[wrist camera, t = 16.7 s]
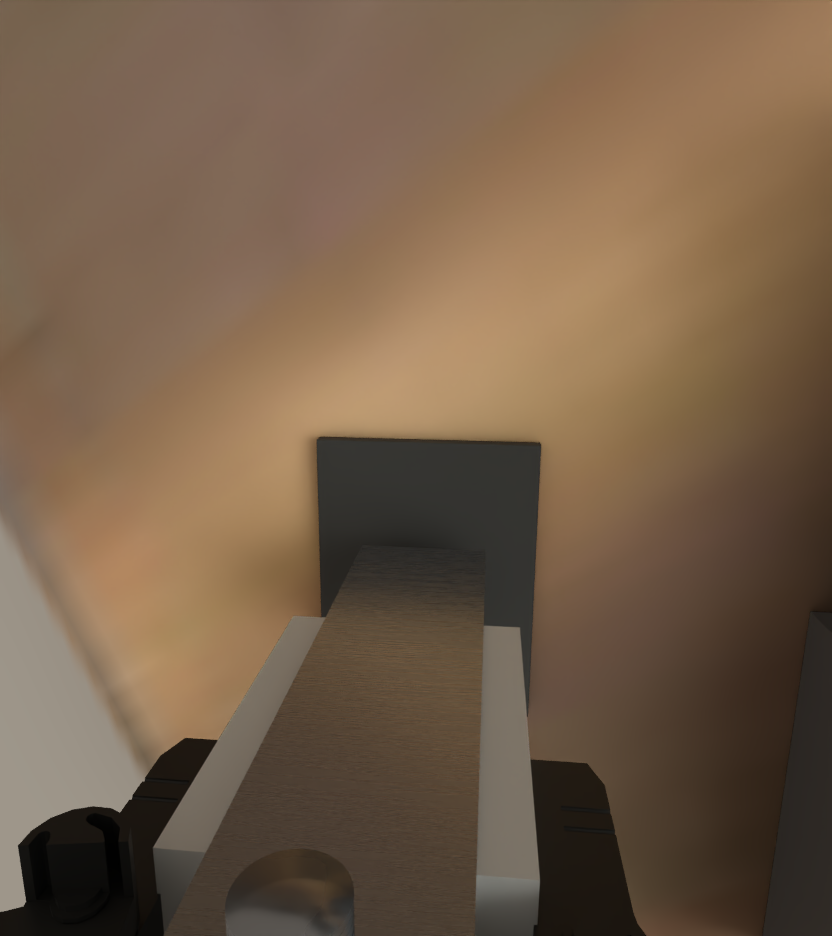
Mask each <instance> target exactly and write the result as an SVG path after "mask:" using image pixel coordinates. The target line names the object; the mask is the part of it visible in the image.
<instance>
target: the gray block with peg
mask: <svg viewBox="0 0 832 936" xmlns="http://www.w3.org/2000/svg"><path fill="white" fill-rule="evenodd" d="M485 559H486V550H462V549H438V548H414V547H390V546H366V545H362V547H361V549H360V551H359V553H358V555H357V557H356V559H355V561H354V563H353V565H352V567H351V569H350V571H349V573H348V574H347V576H346V578H345V580H344V582H343V584H342V586H341V588H340V590H339V592H338V594H337V596H336V598H335V600H334V602H333V604H332V606H331V608H330V610H329V612H328V614H327V616H326V618H325V620H324V622H323V624H322V626H321V627H320V629H319V631H318V633H317V635H316V637H315V639H314V641H313V643H312V645H311V647H310V649H309V651H308V653H307V655H306V657H305V659H304V661H303V663H302V665H301V667H300V669H299V671H298V673H297V675H296V677H295V679H294V680H293V682H292V684H291V686H290V688H289V690H288V692H287V694H286V696H285V698H284V700H283V702H282V704H281V706H280V708H279V710H278V712H277V714H276V716H275V718H274V720H273V722H272V724H271V726H270V728H269V730H268V732H267V733H266V735H265V737H264V739H263V741H262V743H261V745H260V747H259V749H258V751H257V753H256V755H255V757H254V759H253V761H252V763H251V765H250V767H249V769H248V771H247V773H246V775H245V777H244V779H243V781H242V783H241V785H240V786H239V788H238V790H237V792H236V794H235V796H234V798H233V800H232V802H231V804H230V806H229V808H228V810H227V812H226V814H225V816H224V818H223V820H222V822H221V824H220V826H219V828H218V830H217V832H216V834H215V836H214V838H213V839H212V841H211V843H210V845H209V847H208V849H207V851H206V853H205V855H204V857H203V859H202V861H201V863H200V865H199V867H198V869H197V871H196V873H195V875H194V877H193V879H192V881H191V883H190V885H189V887H188V889H187V891H186V892H185V894H184V896H183V898H182V900H181V902H180V904H179V906H178V908H177V910H176V912H175V914H174V916H173V918H172V920H171V922H170V924H169V926H168V928H167V930H166V932H165V934H164V936H475V907H476V872H477V837H478V802H479V768H480V733H481V698H482V664H483V629H484V594H485Z"/></svg>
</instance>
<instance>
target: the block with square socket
mask: <svg viewBox="0 0 832 936" xmlns="http://www.w3.org/2000/svg"><path fill="white" fill-rule="evenodd" d="M763 936H832V613H829V612H810V617H809V624H808V631H807V638H806V645H805V651H804V658H803V665H802V672H801V678H800V685H799V692H798V699H797V705H796V712H795V719H794V726H793V733H792V739H791V746H790V753H789V760H788V766H787V773H786V780H785V787H784V794H783V800H782V807H781V814H780V821H779V827H778V834H777V841H776V848H775V854H774V861H773V868H772V875H771V882H770V888H769V895H768V902H767V909H766V915H765V922H764V929H763Z"/></svg>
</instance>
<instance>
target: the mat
mask: <svg viewBox="0 0 832 936" xmlns="http://www.w3.org/2000/svg"><path fill="white" fill-rule="evenodd" d="M540 457H541V444H540V443H533V442H496V441H458V440H421V439H383V438H346V437H319V438H318V439H317V470H318V507H319V544H320V581H321V617H325V618H326V616H327V614H328V612H329V610H330V608H331V606H332V604H333V602H334V600H335V598H336V596H337V594H338V592H339V590H340V588H341V586H342V584H343V582H344V580H345V578H346V576H347V574H348V573H349V571H350V569H351V567H352V565H353V563H354V561H355V559H356V557H357V555H358V553H359V551H360V549H361V547H362V545H366V546H390V547H414V548H438V549H462V550H486V559H485V594H484V626H501V627H520V636H521V648H522V661H523V673H524V686H525V698H526V711H527V717H528V704H529V683H530V663H531V642H532V622H533V601H534V581H535V560H536V539H537V519H538V498H539V478H540Z"/></svg>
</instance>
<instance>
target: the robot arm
mask: <svg viewBox="0 0 832 936" xmlns="http://www.w3.org/2000/svg"><path fill="white" fill-rule="evenodd" d="M324 620H325V617H306V616H293V617H292V619H291V621H290V622H289V624H288V626H287V627H286V629H285V631H284V632H283V634H282V636H281V637H280V639H279V640H278V642H277V644H276V645H275V647H274V649H273V650H272V652H271V654H270V655H269V657H268V659H267V660H266V662H265V664H264V665H263V667H262V669H261V670H260V672H259V673H258V675H257V677H256V678H255V680H254V682H253V683H252V685H251V687H250V688H249V690H248V692H247V693H246V695H245V697H244V698H243V700H242V701H241V703H240V705H239V706H238V708H237V710H236V711H235V713H234V715H233V716H232V718H231V720H230V721H229V723H228V725H227V726H226V728H225V730H224V731H223V733H222V734H221V736H220V738H219V739H218V740H207V739H193V738H185V739H183V740H182V741H180V742H179V743H178V744H176V745H175V746H173V747H172V748H171V749H169V750H168V751H167V752H165V753H164V754H162V755H161V756H160V757H159V759H158V760H157V762H156V763H155V764H154V766H153V767H152V769H151V770H150V771H149V773H148V774H147V776H146V777H145V781H144V782H142V783H141V784H140V786H139V787H138V788H137V790H136V791H135V793H134V794H133V797H132V800H129V801H128V803H127V804H126V805H125V807H124V808H123V809H122V811H121V812H120V813H119V812H117V811H115V810H114V809H111V808H103V807H87V808H81V809H74V810H71V811H68V812H65V813H63V814H60V815H58V816H55V817H52V818H50V819H49V820H47V821H46V822H44V823H42V824H41V825H39V826H38V827H36V828H35V829H33V830H32V831H31V832H30V833H29V834H28V835H27V836H26V837H25V839H24V840H23V841H22V842H21V843H20V844H19V845H18V849H19V856H20V862H21V869H22V876H23V882H24V889H25V896H26V903H25V905H24V907H20V908H16V909H12V910H8V911H4V912H0V936H164V934H165V932H166V930H167V928H168V926H169V924H170V922H171V920H172V918H173V916H174V914H175V912H176V910H177V908H178V906H179V904H180V902H181V900H182V898H183V896H184V894H185V892H186V891H187V889H188V887H189V885H190V883H191V881H192V879H193V877H194V875H195V873H196V871H197V869H198V867H199V865H200V863H201V861H202V859H203V857H204V855H205V853H206V851H207V849H208V847H209V845H210V843H211V841H212V839H213V838H214V836H215V834H216V832H217V830H218V828H219V826H220V824H221V822H222V820H223V818H224V816H225V814H226V812H227V810H228V808H229V806H230V804H231V802H232V800H233V798H234V796H235V794H236V792H237V790H238V788H239V786H240V785H241V783H242V781H243V779H244V777H245V775H246V773H247V771H248V769H249V767H250V765H251V763H252V761H253V759H254V757H255V755H256V753H257V751H258V749H259V747H260V745H261V743H262V741H263V739H264V737H265V735H266V733H267V732H268V730H269V728H270V726H271V724H272V722H273V720H274V718H275V716H276V714H277V712H278V710H279V708H280V706H281V704H282V702H283V700H284V698H285V696H286V694H287V692H288V690H289V688H290V686H291V684H292V682H293V680H294V679H295V677H296V675H297V673H298V671H299V669H300V667H301V665H302V663H303V661H304V659H305V657H306V655H307V653H308V651H309V649H310V647H311V645H312V643H313V641H314V639H315V637H316V635H317V633H318V631H319V629H320V627H321V626H322V624H323V622H324ZM475 936H646V935H645V933H644V932H643V931H642V929H641V928H640V927H639V925H638V924H637V921H636V919H635V916H634V913H633V909H632V905H631V900H630V896H629V892H628V887H627V883H626V878H625V874H624V869H623V865H622V860H621V856H620V851H619V847H618V843H617V838H616V835H615V829H614V825H613V820H612V816H611V814H610V807H609V802H608V798H607V794H606V789H605V785H604V784H603V783H602V781H601V780H600V779H599V778H598V776H597V775H596V774H595V773H594V771H593V770H592V769H591V768H590V767H589V765H588V764H587V763H574V762H559V761H544V760H530V749H529V736H528V724H527V711H526V698H525V686H524V673H523V661H522V648H521V636H520V627H501V626H484V629H483V664H482V698H481V733H480V768H479V802H478V837H477V872H476V907H475Z"/></svg>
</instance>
